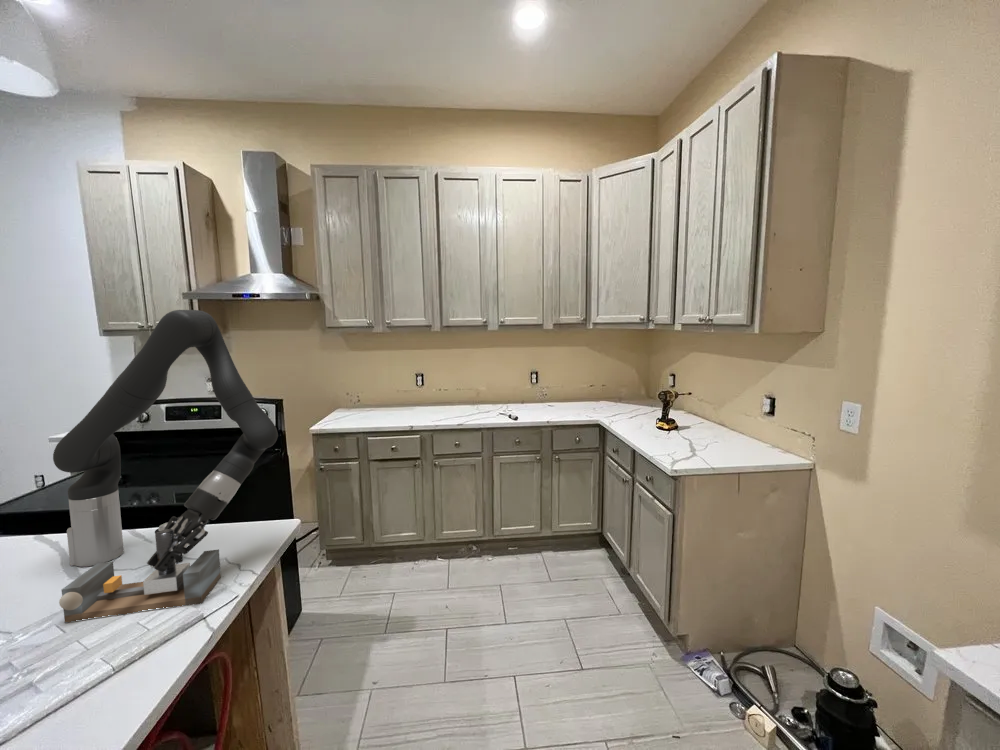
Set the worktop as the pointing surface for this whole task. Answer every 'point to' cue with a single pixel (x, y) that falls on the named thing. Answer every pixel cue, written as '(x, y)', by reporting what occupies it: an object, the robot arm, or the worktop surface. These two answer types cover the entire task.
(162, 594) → the rail base
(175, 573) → the carriage
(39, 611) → the worktop surface
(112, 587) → the orange block
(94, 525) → the robot arm
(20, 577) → the worktop surface
